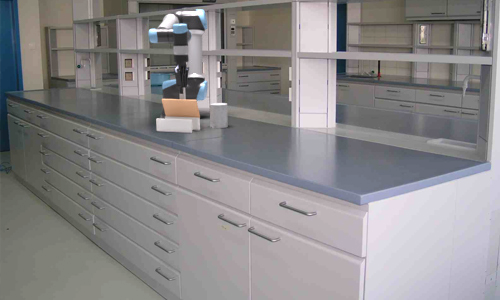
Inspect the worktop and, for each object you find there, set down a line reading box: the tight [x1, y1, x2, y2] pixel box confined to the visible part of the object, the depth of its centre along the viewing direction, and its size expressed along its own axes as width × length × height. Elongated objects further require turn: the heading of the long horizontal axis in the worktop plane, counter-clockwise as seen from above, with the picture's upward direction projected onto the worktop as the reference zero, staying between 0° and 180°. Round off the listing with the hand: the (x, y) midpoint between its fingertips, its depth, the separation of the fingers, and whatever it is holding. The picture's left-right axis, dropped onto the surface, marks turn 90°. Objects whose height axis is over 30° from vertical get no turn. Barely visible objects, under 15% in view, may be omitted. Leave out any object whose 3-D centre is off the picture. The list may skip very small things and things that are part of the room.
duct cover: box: [161, 98, 201, 118], centre depth 286 cm, size 10×20×1 cm
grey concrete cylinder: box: [209, 102, 229, 129], centre depth 295 cm, size 10×10×12 cm
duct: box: [155, 116, 201, 134], centre depth 285 cm, size 10×20×6 cm, turn 69°
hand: (182, 100), depth 288 cm, fingers closed
